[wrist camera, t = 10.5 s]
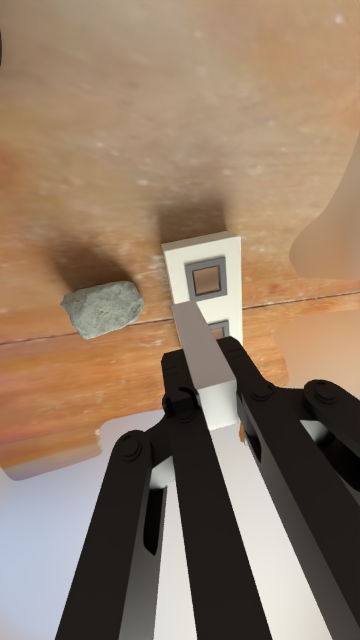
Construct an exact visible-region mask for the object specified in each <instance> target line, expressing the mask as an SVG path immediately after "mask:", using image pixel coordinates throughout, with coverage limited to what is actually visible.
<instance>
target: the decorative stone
mask: <svg viewBox="0 0 360 640" xmlns="http://www.w3.org/2000/svg"><path fill="white" fill-rule="evenodd" d="M63 299H64V300H63V301H62V302H61V303H60V305H61V306H62V307H63V308H64V309H65V311H66V312H67V313H68V315H69V316H70V320H71V322H72V325H73V326H74V327H75V328H76V329H77V332H78V333H79V335H80V336H81V337H82V338H84V339H89V338H94V337H97V336H100V335H103V334H106V333H108V332H110V331H114V330H118V329H121V328H123V327H125V326H126V325H127V324H130V323H132V322H134V321H136V320H137V319H138V316H139V314H140V313H141V311H142V310H143V307H144V299H143V297H142V296H141V295H140V294H139V293H138V291H137V289H136V286H135V285H134V284H133V283H131V282H129V281H117V282H110V283H106V284H104V285H97V286H94V287H90V288H85V289H79V290H77V291H76V292H74V293H69V294H66V295H64V298H63Z"/></svg>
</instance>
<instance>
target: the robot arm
mask: <svg viewBox="0 0 360 640" xmlns="http://www.w3.org/2000/svg"><path fill="white" fill-rule="evenodd" d="M1 57H2V42H1V33H0V65H1ZM171 308H172V312H173V316H174V321H175V325H176V329H177V333H178V337H179V341H180V345H181V348H182V349H180V350H176V351H172V352H168V353H164V355H163V357H162V360H161V365H162V372H163V379H164V386H165V395H164V397H163V399H162V406H163V409H164V412H165V415H164V417H163V418H162V420H161V421H160V422H159V423H157V424H156V425H155V426H153V427H152V428H150V429H148V430H147V431H145V432H143V431H140V430H133V431H128V432H127V433H125V434H124V435H122V436H121V437H120V438H119V439H118V440H117V442H116V443H115V445H114V448H113V450H112V453H111V456H110V459H109V463H108V466H107V469H106V473H105V476H104V479H103V483H102V486H101V489H100V492H99V496H98V499H97V502H96V506H95V509H94V512H93V515H92V519H91V522H90V525H89V529H88V532H87V535H86V538H85V542H84V545H83V549H82V552H81V555H80V558H79V562H78V565H77V568H76V571H75V575H74V578H73V582H72V585H71V588H70V591H69V595H68V598H67V601H66V605H65V608H64V611H63V614H62V618H61V621H60V624H59V627H58V631H57V634H56V637H55V640H153V638H154V627H155V615H156V605H157V594H158V584H159V572H160V561H161V551H162V540H163V528H164V517H165V507H166V496H167V485H168V484H169V483H171V482H172V481H173V480H176V487H177V494H178V502H179V508H180V516H181V524H182V530H183V538H184V545H185V552H186V560H187V567H188V574H189V582H190V589H191V596H192V604H193V611H194V618H195V624H196V633H197V640H272V636H271V634H270V630H269V626H268V623H267V620H266V616H265V613H264V610H263V607H262V603H261V601H260V597H259V593H258V590H257V587H256V584H255V580H254V577H253V574H252V570H251V567H250V564H249V560H248V557H247V554H246V551H245V547H244V544H243V541H242V538H241V534H240V531H239V528H238V524H237V521H236V518H235V515H234V511H233V508H232V505H231V501H230V498H229V495H228V491H227V488H226V485H225V481H224V478H223V475H222V472H221V468H220V465H219V462H218V458H217V455H216V452H215V448H214V445H213V442H212V438H211V435H210V432H209V431H210V430H214V429H217V428H221V427H224V426H228V425H232V424H235V423H239V418H240V420H241V423H242V425H243V435H244V444H245V446H246V445H249V447H250V450H251V452H252V454H253V457H254V459H255V461H256V464H257V466H258V468H259V470H260V473H261V475H262V477H263V480H264V482H265V484H266V487H267V489H268V491H269V494H270V496H271V498H272V501H273V503H274V505H275V507H276V510H277V512H278V514H279V517H280V519H281V521H282V524H283V526H284V528H285V531H286V533H287V535H288V538H289V540H290V542H291V544H292V547H293V549H294V551H295V554H296V556H297V558H298V561H299V563H300V565H301V567H302V570H303V572H304V575H305V577H306V579H307V581H308V584H309V586H310V588H311V591H312V593H313V595H314V598H315V600H316V602H317V605H318V607H319V609H320V611H321V614H322V616H323V618H324V621H325V623H326V625H327V628H328V630H329V632H330V635H331V637H332V639H333V640H360V400H358V399H357V398H355V397H354V396H352V395H351V394H350V393H348V392H347V391H346V390H344V389H343V388H341V387H340V386H338V385H336V384H334V383H332V382H330V381H326V380H312V381H309V382H308V383H307V384H306V385H304V389H291V388H280V387H277V386H275V385H274V384H273V383H271V382H269V381H267V380H265V379H264V378H263V376H262V375H261V373H260V372H259V370H258V369H257V367H256V366H255V364H254V363H253V361H252V360H251V358H250V357H249V355H247V352H246V351H245V349H244V348H243V346H242V345H241V343H240V342H239V341H238V340H237V339H235V338H234V337H232V336H227V337H224V338H220V339H215V338H214V336H213V334H212V332H211V330H210V328H209V326H208V324H207V322H206V320H205V318H204V316H203V315H202V313H201V311H200V309H199V307H198V305H197V303H196V301H195V299H194V300H190V301H186V302H182V303H178V304H174V305H171ZM238 417H239V418H238Z"/></svg>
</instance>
